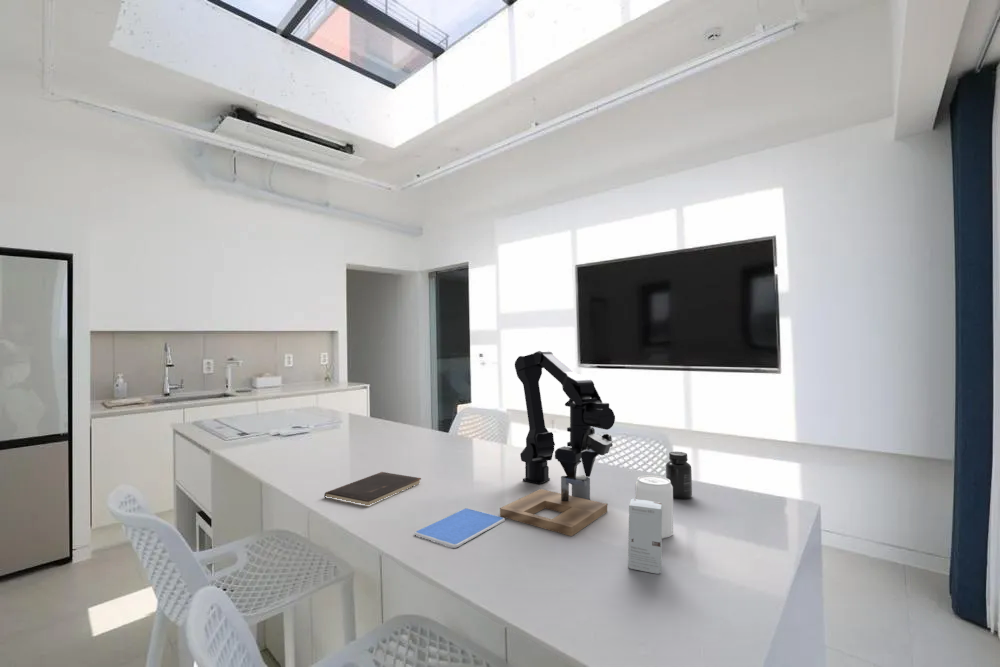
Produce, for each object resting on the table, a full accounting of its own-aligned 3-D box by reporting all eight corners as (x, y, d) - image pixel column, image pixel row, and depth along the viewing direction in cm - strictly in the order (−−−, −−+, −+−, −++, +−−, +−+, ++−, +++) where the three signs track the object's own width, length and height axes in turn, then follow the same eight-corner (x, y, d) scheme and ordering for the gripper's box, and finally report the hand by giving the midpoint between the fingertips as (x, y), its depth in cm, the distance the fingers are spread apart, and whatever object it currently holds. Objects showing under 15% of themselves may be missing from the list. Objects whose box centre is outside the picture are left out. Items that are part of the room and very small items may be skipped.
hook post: (559, 500, 120) (559, 477, 121) (563, 498, 122) (563, 475, 122) (584, 505, 116) (584, 482, 116) (587, 503, 118) (587, 480, 118)
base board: (500, 516, 115) (500, 508, 115) (540, 496, 130) (540, 489, 130) (571, 536, 103) (571, 527, 103) (607, 511, 118) (607, 503, 118)
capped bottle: (568, 499, 127) (568, 476, 127) (576, 494, 131) (576, 472, 131) (584, 503, 124) (584, 480, 124) (593, 498, 128) (593, 475, 128)
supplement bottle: (687, 492, 133) (687, 450, 134) (695, 500, 127) (695, 456, 127) (663, 491, 134) (663, 450, 134) (669, 499, 127) (669, 455, 128)
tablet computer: (466, 511, 119) (466, 506, 119) (506, 522, 112) (506, 516, 112) (412, 537, 103) (412, 531, 103) (455, 552, 96) (455, 545, 96)
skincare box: (627, 569, 88) (627, 504, 88) (630, 559, 92) (629, 497, 92) (661, 575, 85) (661, 509, 86) (662, 564, 90) (662, 501, 90)
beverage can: (654, 543, 99) (654, 487, 99) (628, 529, 106) (627, 477, 107) (681, 536, 103) (680, 482, 103) (653, 523, 110) (653, 473, 110)
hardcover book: (421, 485, 141) (421, 478, 141) (368, 509, 121) (368, 500, 121) (380, 478, 148) (380, 471, 148) (324, 500, 128) (324, 491, 128)
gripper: (592, 432, 116) (592, 494, 116) (621, 422, 131) (621, 477, 131) (553, 427, 123) (553, 486, 122) (585, 418, 138) (585, 471, 137)
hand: (580, 480), depth 128 cm, fingers open, 9 cm apart
